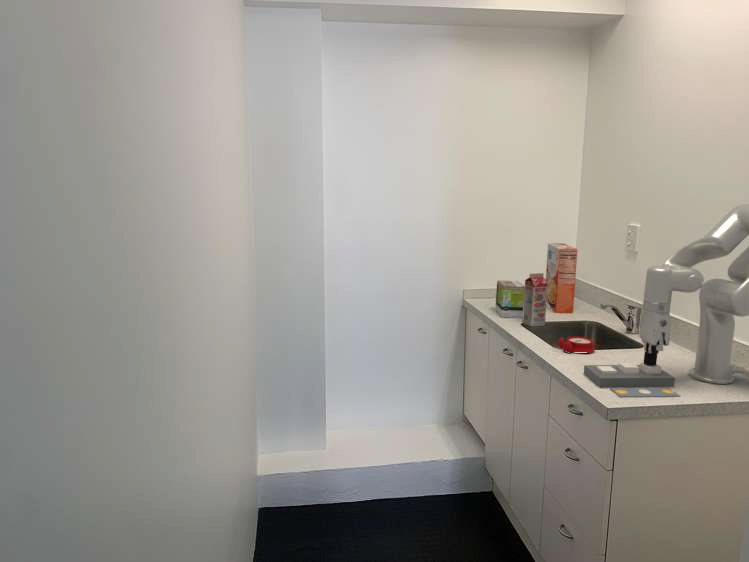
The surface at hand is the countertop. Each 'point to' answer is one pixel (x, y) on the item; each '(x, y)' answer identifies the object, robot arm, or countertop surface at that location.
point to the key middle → (628, 368)
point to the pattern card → (644, 392)
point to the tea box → (510, 299)
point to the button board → (628, 378)
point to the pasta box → (561, 277)
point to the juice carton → (535, 300)
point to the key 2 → (650, 369)
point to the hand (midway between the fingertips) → (649, 364)
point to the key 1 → (606, 370)
